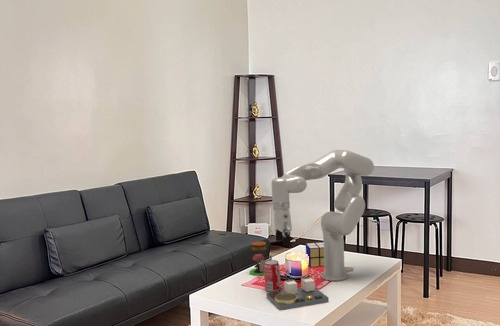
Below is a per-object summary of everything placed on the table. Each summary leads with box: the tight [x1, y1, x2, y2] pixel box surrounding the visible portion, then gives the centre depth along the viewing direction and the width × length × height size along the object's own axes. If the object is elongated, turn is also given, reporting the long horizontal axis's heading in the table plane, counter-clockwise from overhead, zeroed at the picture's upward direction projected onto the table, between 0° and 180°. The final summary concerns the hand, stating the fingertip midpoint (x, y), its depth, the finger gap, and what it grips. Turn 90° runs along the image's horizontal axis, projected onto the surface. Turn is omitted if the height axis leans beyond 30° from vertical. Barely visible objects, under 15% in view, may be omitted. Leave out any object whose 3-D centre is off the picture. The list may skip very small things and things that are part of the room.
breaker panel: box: [265, 286, 330, 311], centre depth 234 cm, size 22×16×3 cm
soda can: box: [263, 259, 282, 293], centre depth 247 cm, size 7×7×13 cm
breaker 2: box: [300, 276, 315, 292], centre depth 240 cm, size 4×5×5 cm
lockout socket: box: [275, 293, 298, 304], centre depth 229 cm, size 10×10×1 cm
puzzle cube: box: [305, 241, 324, 268], centre depth 284 cm, size 10×10×10 cm
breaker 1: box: [283, 279, 298, 294], centre depth 237 cm, size 4×5×5 cm
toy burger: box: [249, 241, 273, 277], centre depth 272 cm, size 12×13×15 cm
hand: (283, 243), depth 246 cm, fingers open, 9 cm apart
